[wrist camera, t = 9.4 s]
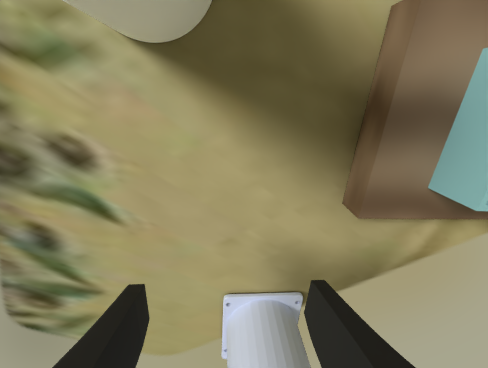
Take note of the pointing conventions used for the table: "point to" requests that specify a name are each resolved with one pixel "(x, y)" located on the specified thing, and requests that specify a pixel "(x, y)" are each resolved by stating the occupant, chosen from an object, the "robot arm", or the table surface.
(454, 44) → the brown flat block
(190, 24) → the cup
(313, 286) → the robot arm
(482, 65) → the light blue open box
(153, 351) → the table surface
